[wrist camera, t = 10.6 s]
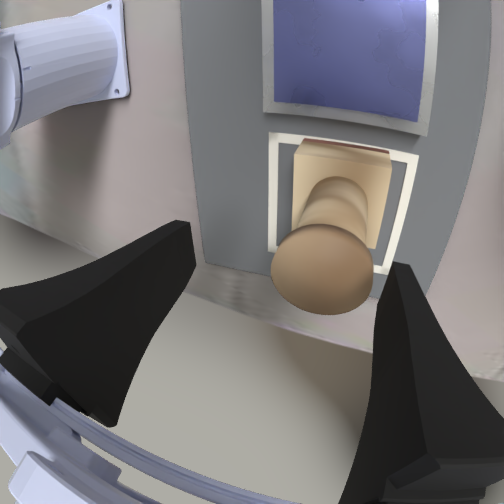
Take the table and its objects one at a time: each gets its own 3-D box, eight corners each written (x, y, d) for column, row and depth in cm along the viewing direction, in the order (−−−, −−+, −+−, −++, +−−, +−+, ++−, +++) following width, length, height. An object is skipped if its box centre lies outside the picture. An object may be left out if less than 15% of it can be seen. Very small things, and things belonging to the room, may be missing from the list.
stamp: (300, 210, 20) (259, 308, 14) (304, 137, 17) (256, 213, 11) (375, 223, 19) (369, 331, 13) (388, 150, 16) (400, 238, 9)
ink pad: (269, 108, 17) (261, 113, 16) (267, -33, 11) (258, -39, 10) (423, 131, 15) (427, 138, 13) (433, -17, 9) (439, -22, 8)
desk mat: (208, 257, 27) (204, 262, 26) (185, -106, 8) (179, -109, 8) (420, 301, 22) (420, 307, 21) (473, -95, 4) (476, -99, 3)
